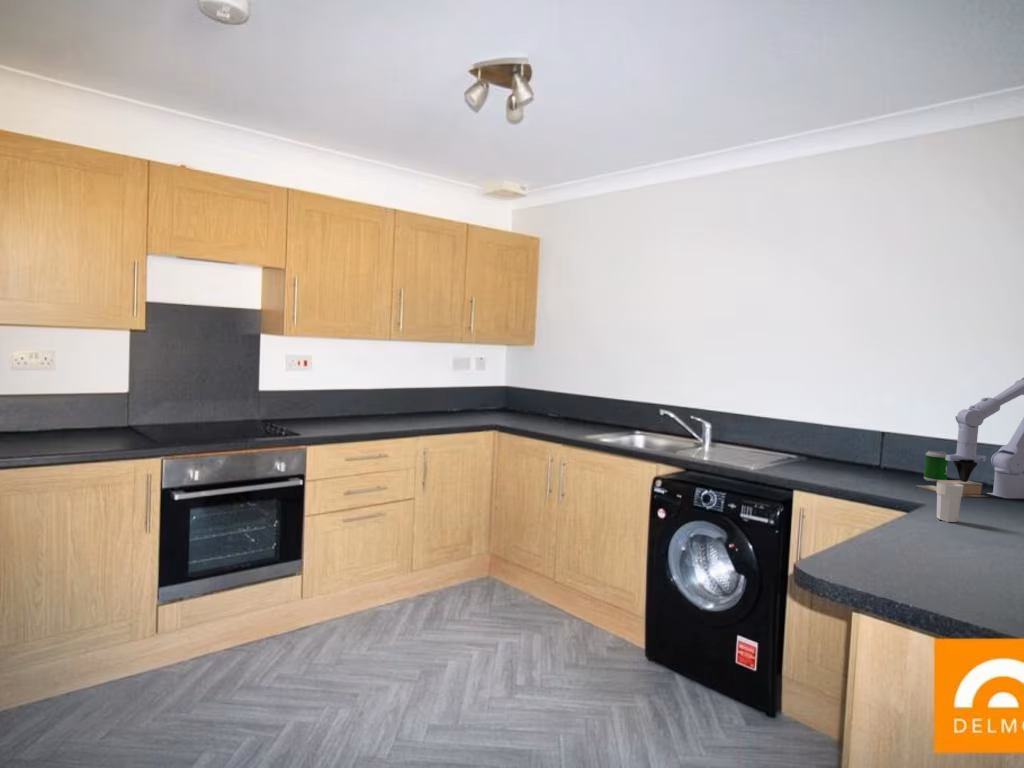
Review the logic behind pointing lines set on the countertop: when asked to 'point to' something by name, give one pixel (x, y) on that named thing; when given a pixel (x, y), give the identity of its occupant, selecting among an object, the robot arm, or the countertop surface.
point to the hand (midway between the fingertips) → (963, 481)
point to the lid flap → (961, 482)
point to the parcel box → (972, 489)
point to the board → (936, 490)
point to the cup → (948, 500)
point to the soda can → (935, 466)
